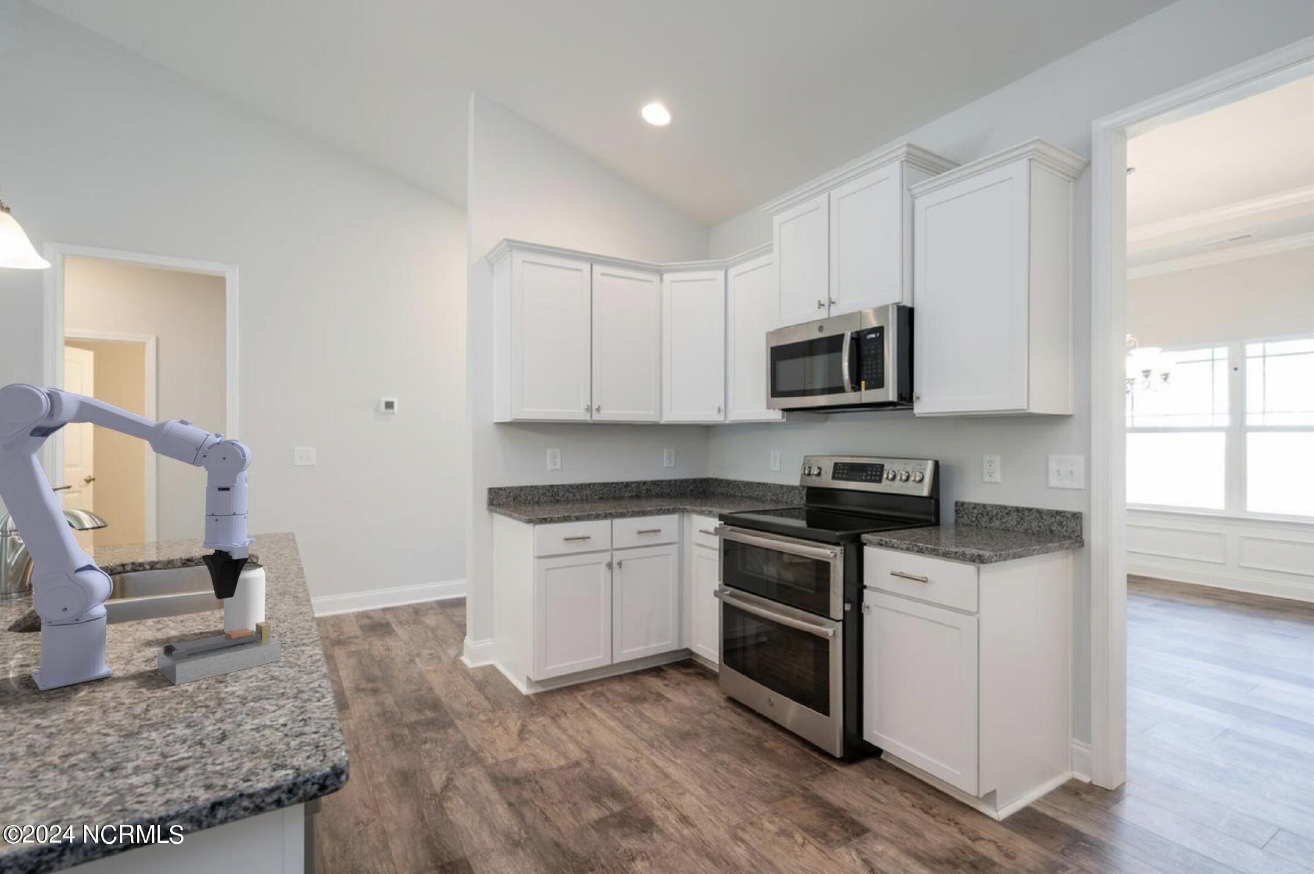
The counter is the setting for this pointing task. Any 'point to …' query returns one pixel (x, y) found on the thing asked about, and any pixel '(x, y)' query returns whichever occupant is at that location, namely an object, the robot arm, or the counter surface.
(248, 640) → the grey slab
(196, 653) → the base block
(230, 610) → the can
